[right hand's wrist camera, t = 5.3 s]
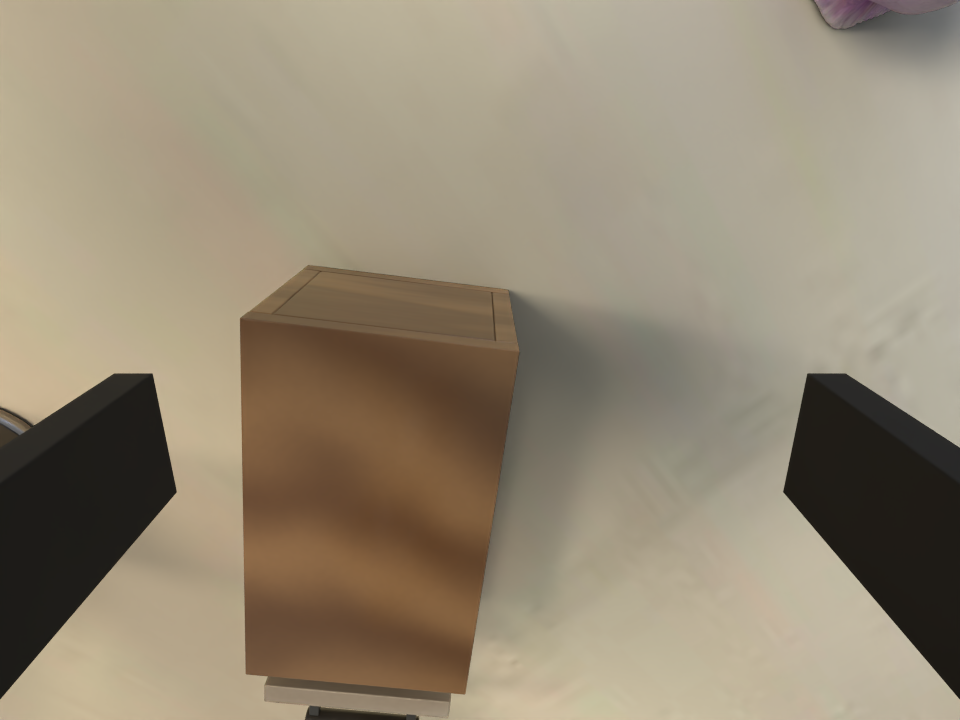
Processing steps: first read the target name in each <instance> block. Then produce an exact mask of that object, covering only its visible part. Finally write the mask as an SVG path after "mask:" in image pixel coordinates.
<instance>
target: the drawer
mask: <svg viewBox="0 0 960 720" xmlns="http://www.w3.org/2000/svg"><path fill="white" fill-rule="evenodd" d="M265 701H266V702H276V703H288V704H299V705H310V706H309V708H308V710H307V713H306V717H305V720H419V716H416V715H420V716H431V717H442V718H448V716H449V709H450V702H451V693H444V692H433V691H422V690H411V689H400V688H390V687H379V686H368V685H357V684H346V683H335V682H325V681H314V680H303V679H292V678H281V677H270V676H268V678H267V680H266V683H265ZM325 707H332V708H325ZM336 708H343V709H336ZM347 709H354V710H347ZM358 710H365V711H358ZM369 711H376V712H369ZM380 712H387V713H380ZM391 713H398V714H391ZM402 714H407V715H402Z"/></svg>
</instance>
